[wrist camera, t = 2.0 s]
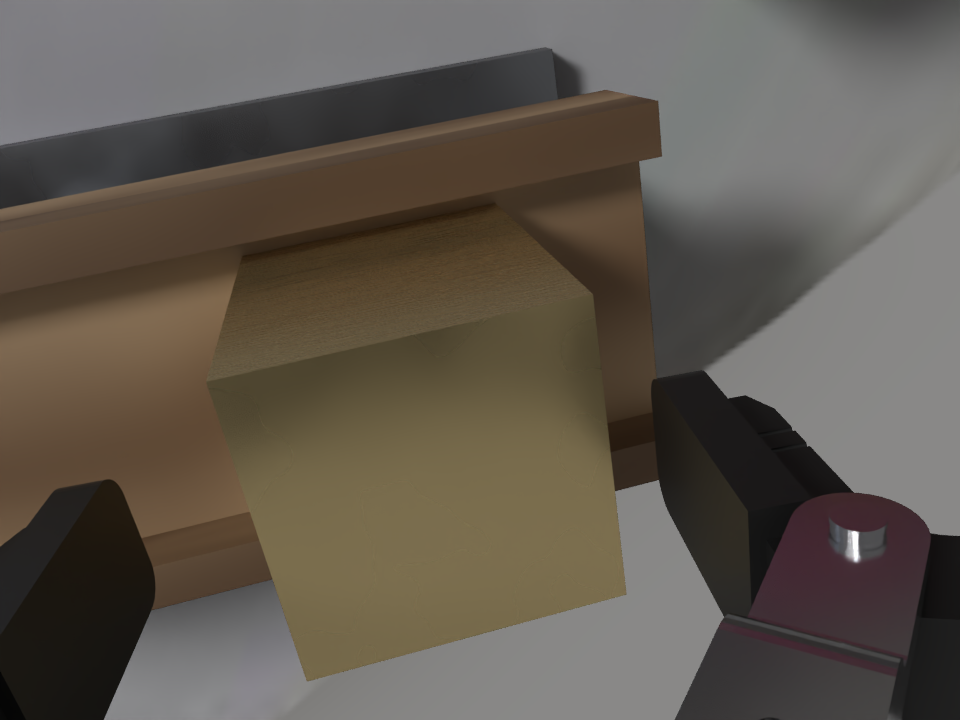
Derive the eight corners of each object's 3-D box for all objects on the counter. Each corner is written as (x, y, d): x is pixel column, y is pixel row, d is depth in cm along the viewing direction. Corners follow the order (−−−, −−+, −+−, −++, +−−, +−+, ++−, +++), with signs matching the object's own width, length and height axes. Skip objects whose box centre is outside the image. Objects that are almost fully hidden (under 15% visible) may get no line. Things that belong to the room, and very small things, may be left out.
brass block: (242, 256, 15) (205, 381, 10) (495, 202, 16) (593, 293, 10) (307, 476, 17) (307, 681, 12) (529, 422, 18) (626, 594, 12)
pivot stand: (-438, 224, 24) (-911, 344, 15) (545, 47, 24) (622, 68, 16) (-275, 476, 28) (-584, 688, 19) (578, 319, 28) (655, 457, 19)
